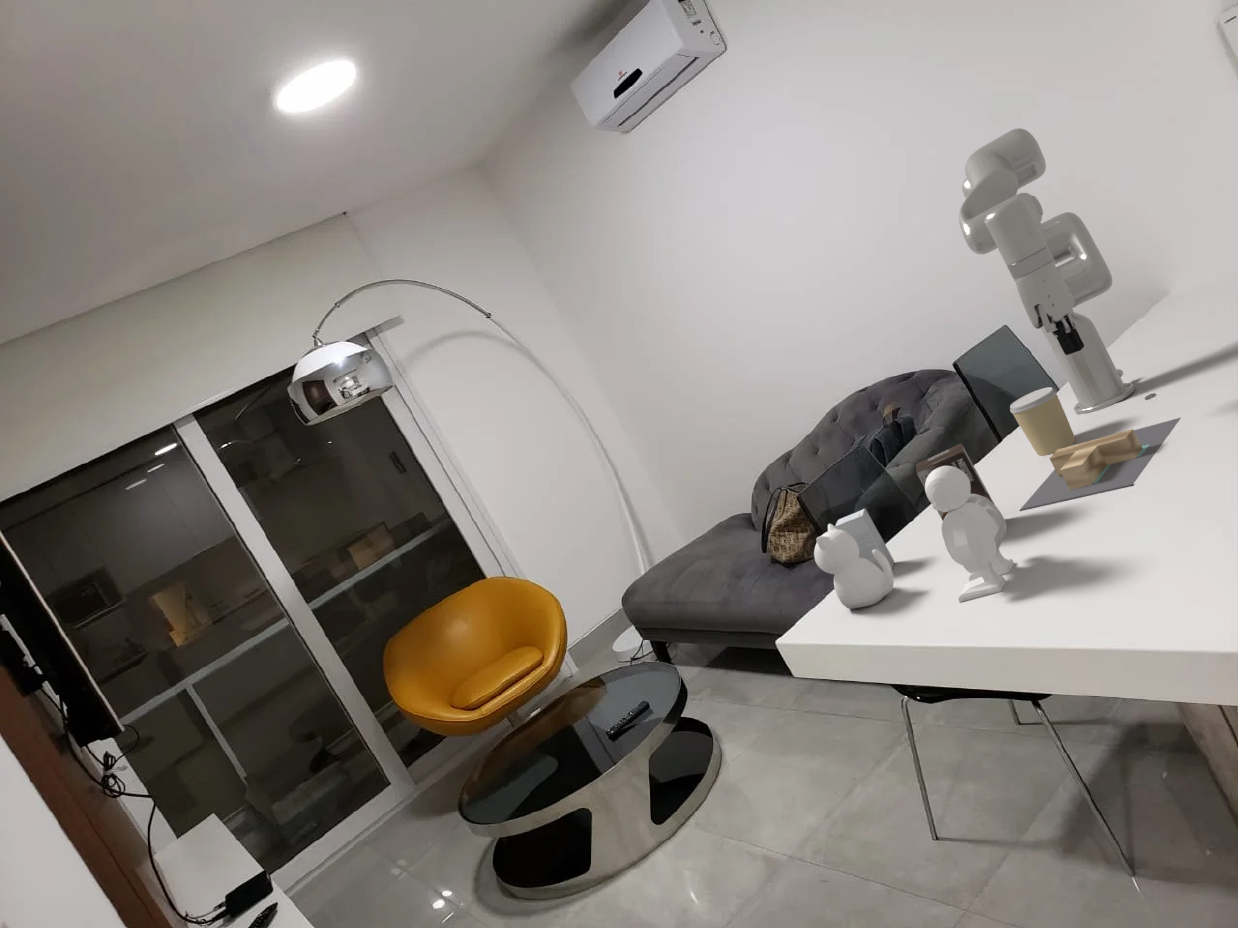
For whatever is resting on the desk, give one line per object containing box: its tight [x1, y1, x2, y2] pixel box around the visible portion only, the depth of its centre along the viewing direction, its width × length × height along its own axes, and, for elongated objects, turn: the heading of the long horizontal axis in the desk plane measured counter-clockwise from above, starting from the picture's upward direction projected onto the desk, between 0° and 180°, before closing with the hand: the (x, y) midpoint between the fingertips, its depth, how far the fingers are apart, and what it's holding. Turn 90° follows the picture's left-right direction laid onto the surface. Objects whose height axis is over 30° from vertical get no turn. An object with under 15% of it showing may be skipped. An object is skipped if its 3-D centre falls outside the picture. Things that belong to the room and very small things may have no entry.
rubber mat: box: [1019, 417, 1181, 512], centre depth 161 cm, size 28×20×1 cm
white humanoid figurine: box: [924, 466, 1015, 603], centre depth 138 cm, size 14×9×20 cm, turn 142°
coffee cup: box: [1009, 386, 1077, 457], centre depth 183 cm, size 9×9×12 cm
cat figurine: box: [813, 523, 895, 610], centre depth 157 cm, size 9×12×15 cm
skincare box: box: [834, 508, 895, 573], centre depth 169 cm, size 6×4×12 cm
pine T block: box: [1049, 428, 1143, 490], centre depth 159 cm, size 12×14×4 cm
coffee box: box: [915, 442, 996, 521], centre depth 160 cm, size 9×6×16 cm
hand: (1075, 351), depth 167 cm, fingers closed
